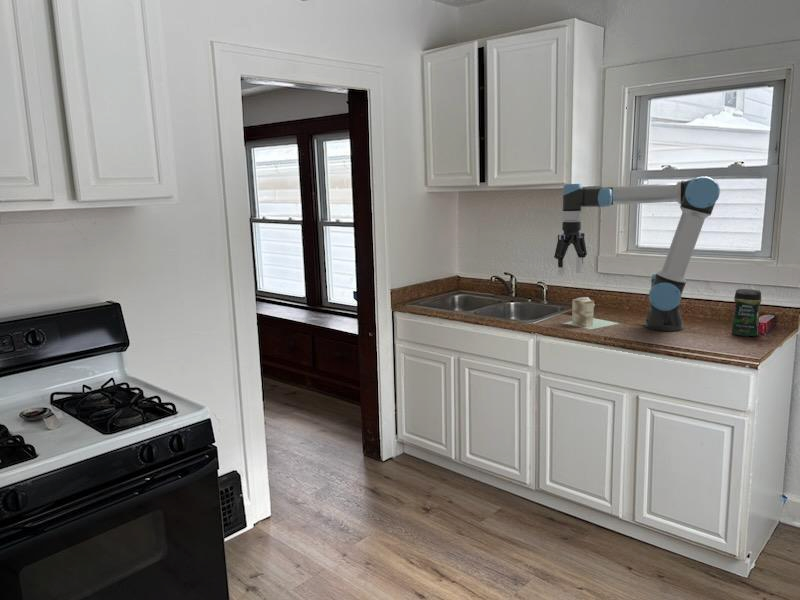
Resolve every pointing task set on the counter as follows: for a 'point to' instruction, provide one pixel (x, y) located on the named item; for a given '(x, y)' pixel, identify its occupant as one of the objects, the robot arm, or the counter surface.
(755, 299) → the coffee jar
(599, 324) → the mat
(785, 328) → the counter surface
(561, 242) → the robot arm
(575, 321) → the maple slab
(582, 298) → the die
